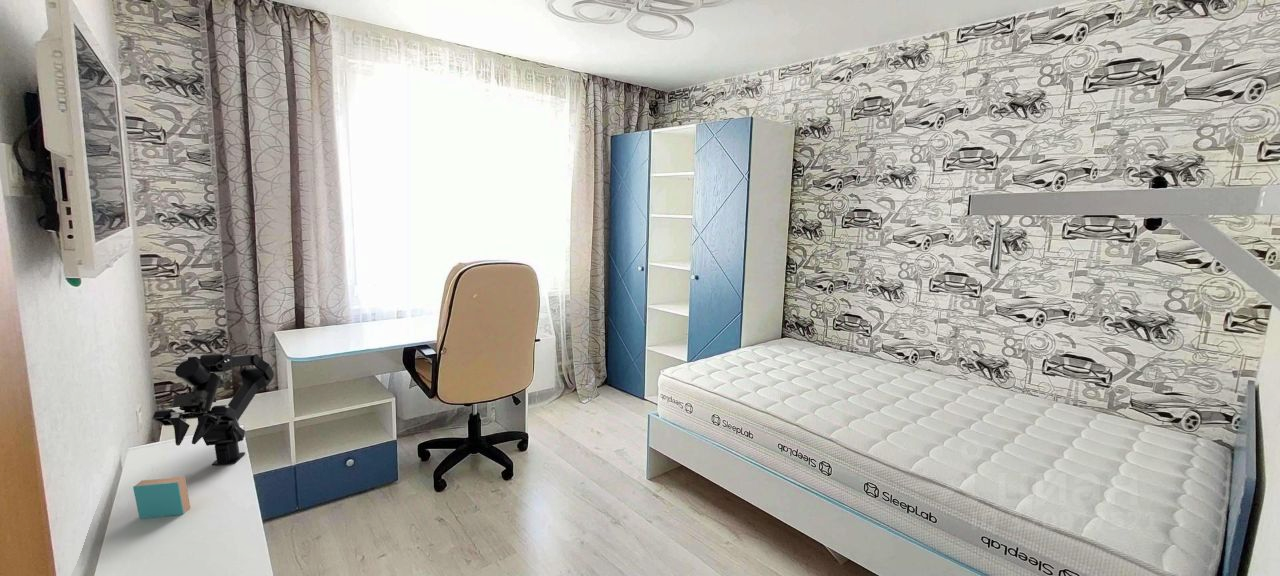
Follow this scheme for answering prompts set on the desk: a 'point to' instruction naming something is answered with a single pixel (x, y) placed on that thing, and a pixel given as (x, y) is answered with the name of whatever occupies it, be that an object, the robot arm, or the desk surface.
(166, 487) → the tile
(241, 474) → the desk surface
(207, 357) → the robot arm
